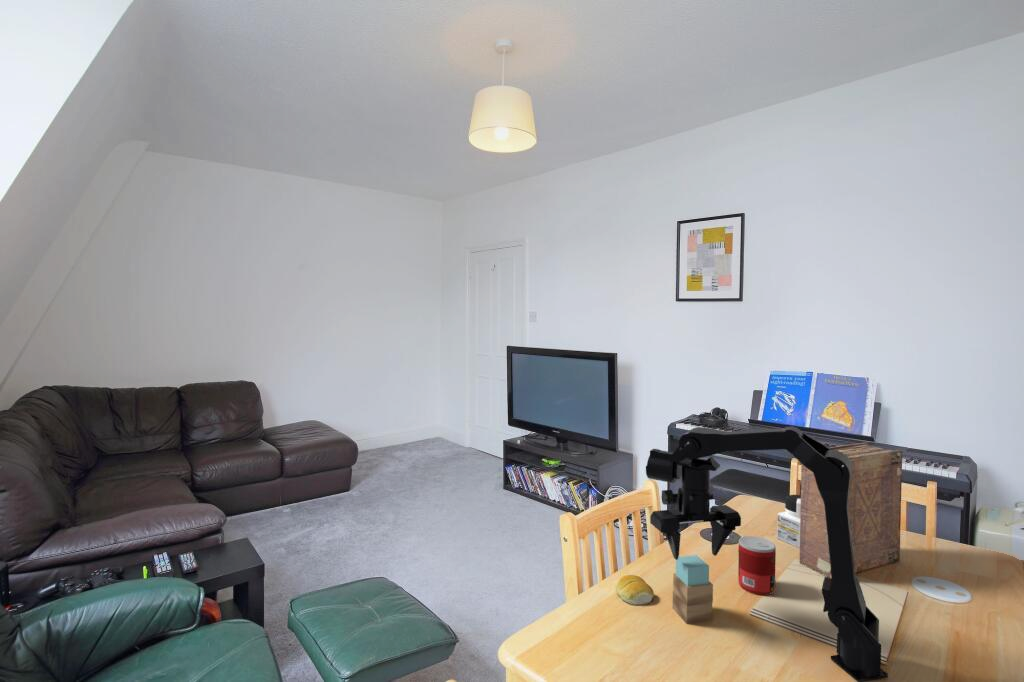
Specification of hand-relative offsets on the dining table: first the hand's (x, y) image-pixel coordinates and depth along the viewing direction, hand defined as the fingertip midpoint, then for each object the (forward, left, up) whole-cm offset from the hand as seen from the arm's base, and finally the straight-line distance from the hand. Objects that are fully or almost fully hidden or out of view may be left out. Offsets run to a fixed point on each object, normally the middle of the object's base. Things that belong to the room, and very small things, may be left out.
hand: (695, 556), depth 112 cm
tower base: (0, +1, -13) cm, 13 cm away
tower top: (0, 0, -9) cm, 9 cm away
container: (+27, -48, -13) cm, 57 cm away
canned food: (+7, -20, -13) cm, 25 cm away
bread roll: (+10, +10, -13) cm, 19 cm away
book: (+13, -52, -13) cm, 56 cm away
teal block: (0, +1, -5) cm, 5 cm away
